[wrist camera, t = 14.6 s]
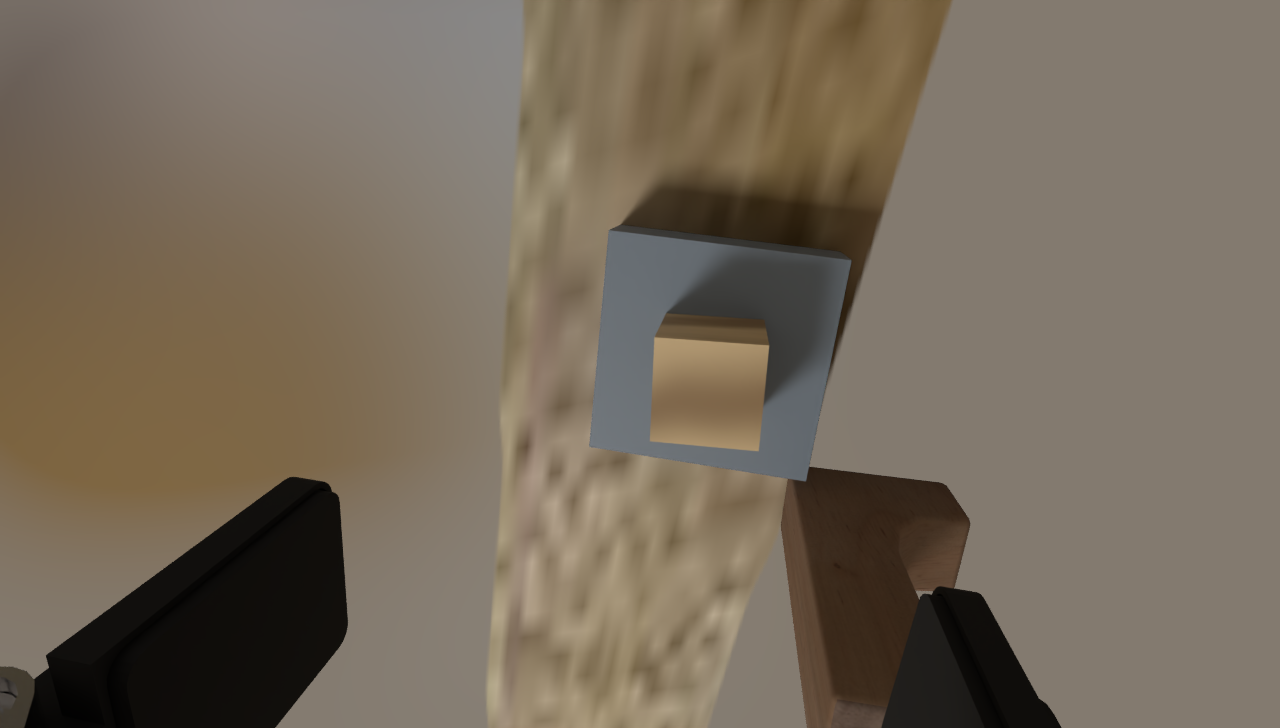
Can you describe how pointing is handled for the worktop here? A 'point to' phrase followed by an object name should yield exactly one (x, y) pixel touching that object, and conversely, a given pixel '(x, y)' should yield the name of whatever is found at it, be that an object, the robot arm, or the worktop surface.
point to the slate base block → (723, 287)
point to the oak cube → (709, 381)
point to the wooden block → (862, 582)
